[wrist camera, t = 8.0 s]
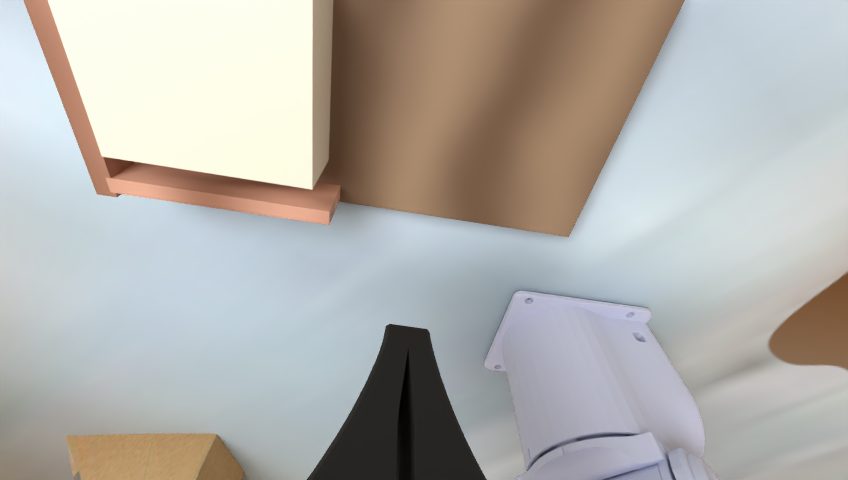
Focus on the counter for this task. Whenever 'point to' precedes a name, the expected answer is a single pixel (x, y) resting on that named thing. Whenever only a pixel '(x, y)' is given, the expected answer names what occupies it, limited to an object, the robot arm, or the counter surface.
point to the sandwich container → (152, 457)
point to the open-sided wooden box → (436, 111)
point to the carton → (206, 83)
